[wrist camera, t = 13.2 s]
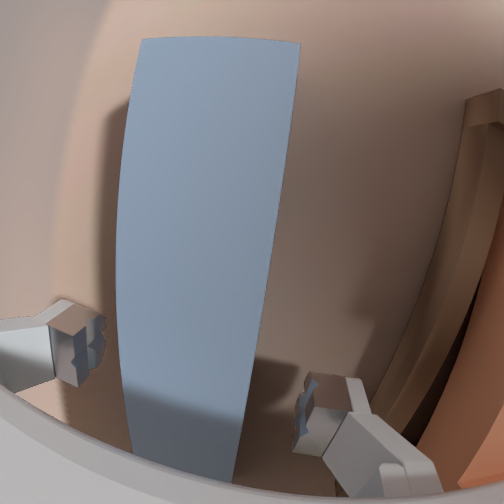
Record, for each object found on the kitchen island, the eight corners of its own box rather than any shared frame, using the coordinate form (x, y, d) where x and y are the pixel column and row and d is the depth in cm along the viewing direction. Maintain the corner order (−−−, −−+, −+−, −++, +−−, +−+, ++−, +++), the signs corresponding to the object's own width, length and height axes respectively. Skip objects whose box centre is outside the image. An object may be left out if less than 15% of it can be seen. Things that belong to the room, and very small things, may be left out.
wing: (182, 72, 9) (142, 38, 6) (296, 81, 8) (300, 43, 5) (162, 455, 13) (143, 500, 10) (233, 471, 12) (223, 520, 10)
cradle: (466, 99, 7) (500, 88, 5) (586, 180, 7) (616, 186, 5) (333, 463, 11) (336, 498, 9) (461, 462, 11) (472, 487, 9)
